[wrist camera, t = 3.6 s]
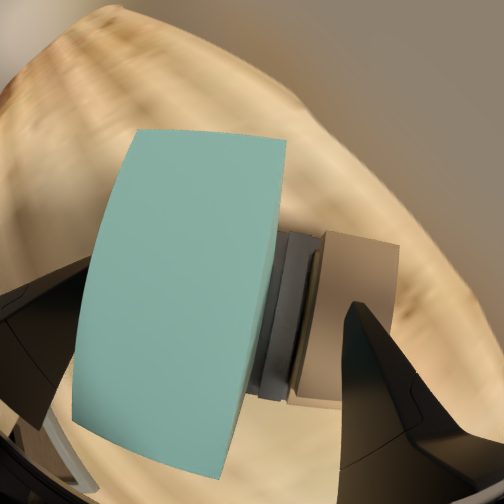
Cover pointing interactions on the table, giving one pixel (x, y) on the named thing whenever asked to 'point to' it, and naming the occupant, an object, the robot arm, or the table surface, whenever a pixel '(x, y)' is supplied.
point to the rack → (282, 315)
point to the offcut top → (343, 306)
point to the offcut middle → (290, 394)
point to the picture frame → (56, 453)
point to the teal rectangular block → (178, 295)
